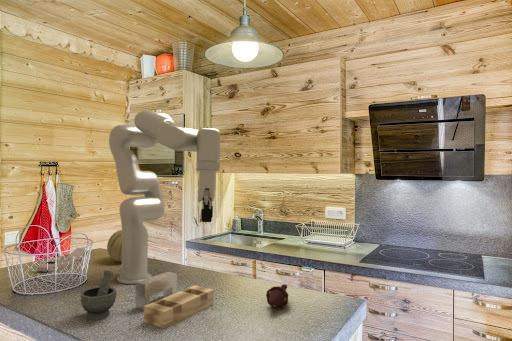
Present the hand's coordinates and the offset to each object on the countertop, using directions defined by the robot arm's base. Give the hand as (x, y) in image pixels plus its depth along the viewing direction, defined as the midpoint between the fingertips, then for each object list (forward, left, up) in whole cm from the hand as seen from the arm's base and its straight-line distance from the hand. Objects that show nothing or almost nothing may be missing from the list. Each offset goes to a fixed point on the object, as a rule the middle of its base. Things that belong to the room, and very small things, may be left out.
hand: (207, 219), depth 120 cm
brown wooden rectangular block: (-1, -11, -27) cm, 29 cm away
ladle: (-78, 0, -27) cm, 83 cm away
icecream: (+22, +9, -27) cm, 36 cm away
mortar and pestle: (-20, -25, -27) cm, 42 cm away
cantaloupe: (-63, +20, -27) cm, 72 cm away
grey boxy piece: (-13, -9, -27) cm, 31 cm away
